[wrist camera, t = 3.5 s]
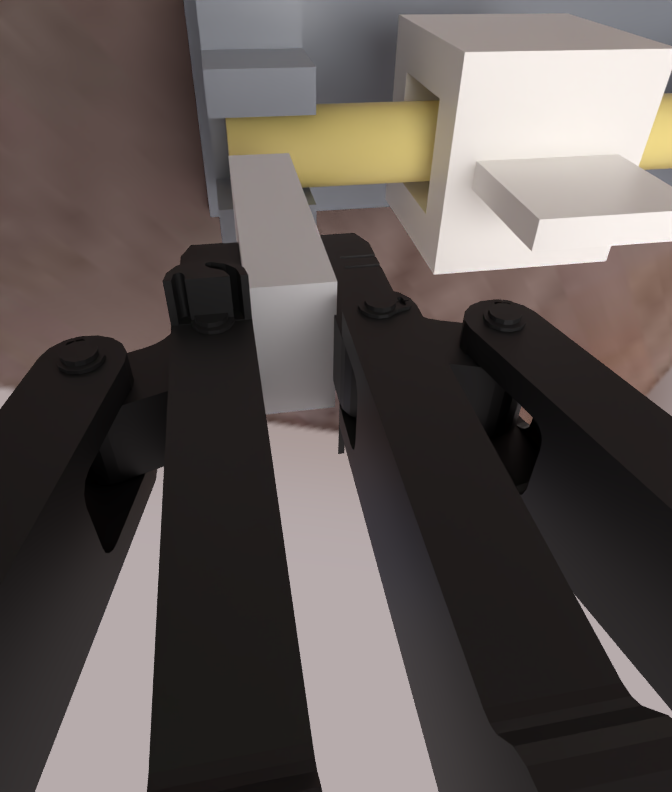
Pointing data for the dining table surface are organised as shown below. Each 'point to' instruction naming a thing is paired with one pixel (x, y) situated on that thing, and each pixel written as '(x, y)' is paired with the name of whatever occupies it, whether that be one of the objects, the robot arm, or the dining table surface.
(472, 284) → the dining table surface
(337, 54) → the grey rod stand
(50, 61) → the dining table surface
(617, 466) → the robot arm
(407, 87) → the sleeve
